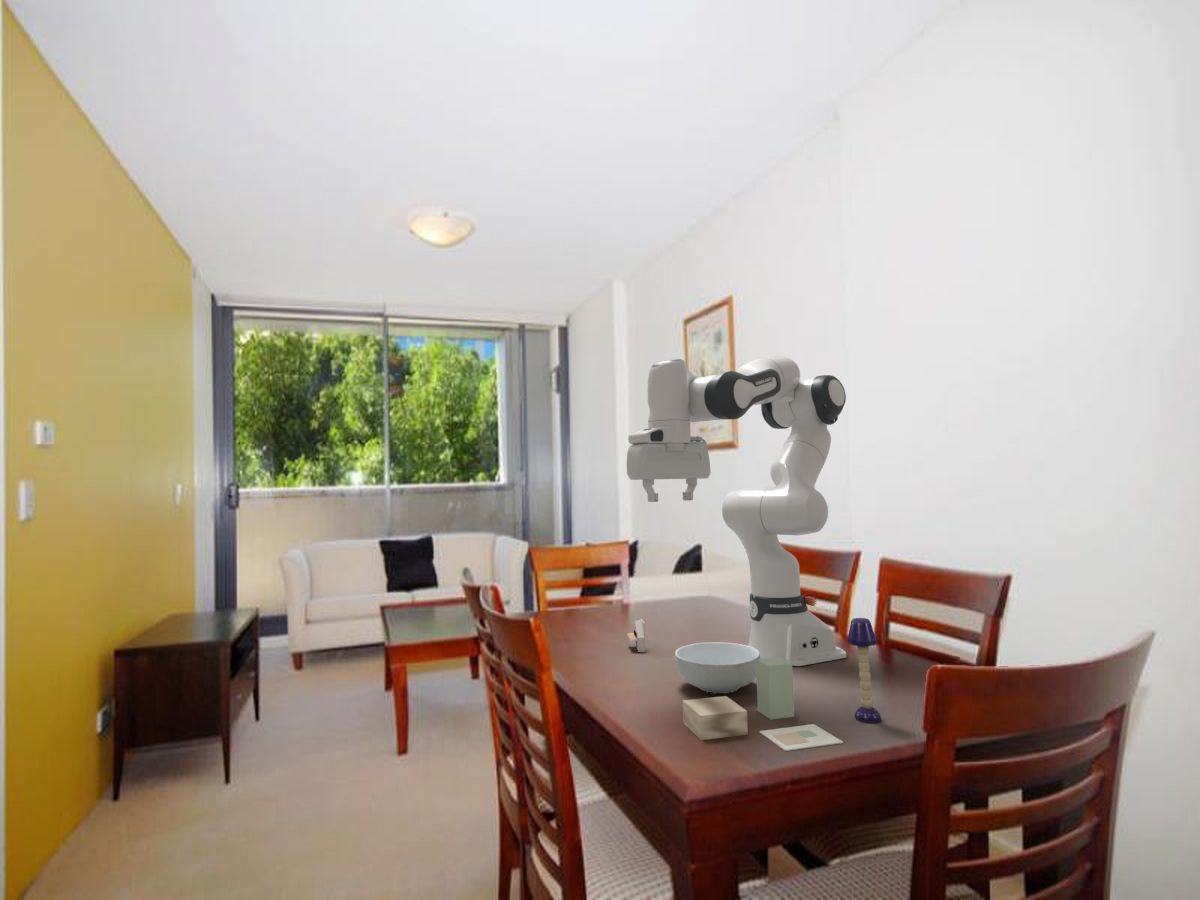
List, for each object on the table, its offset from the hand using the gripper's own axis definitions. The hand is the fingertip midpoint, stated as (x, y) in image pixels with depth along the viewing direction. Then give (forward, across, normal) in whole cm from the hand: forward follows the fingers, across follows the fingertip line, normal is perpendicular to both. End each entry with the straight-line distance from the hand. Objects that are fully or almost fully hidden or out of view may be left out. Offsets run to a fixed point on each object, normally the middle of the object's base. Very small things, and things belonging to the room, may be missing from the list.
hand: (670, 501), depth 141 cm
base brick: (+37, +13, +26) cm, 47 cm away
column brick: (+37, 0, +27) cm, 46 cm away
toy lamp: (+37, -10, +38) cm, 54 cm away
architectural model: (+38, -9, -24) cm, 45 cm away
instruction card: (+36, +5, +37) cm, 52 cm away
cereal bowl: (+37, -3, +10) cm, 38 cm away
